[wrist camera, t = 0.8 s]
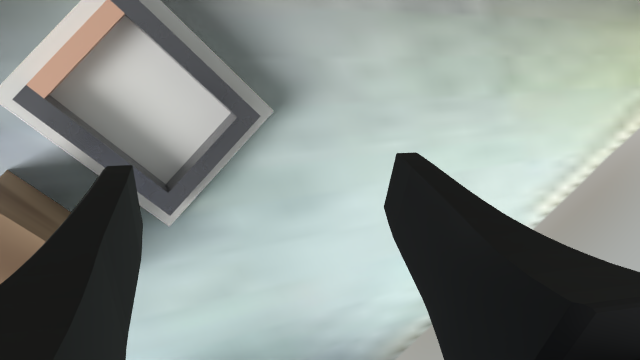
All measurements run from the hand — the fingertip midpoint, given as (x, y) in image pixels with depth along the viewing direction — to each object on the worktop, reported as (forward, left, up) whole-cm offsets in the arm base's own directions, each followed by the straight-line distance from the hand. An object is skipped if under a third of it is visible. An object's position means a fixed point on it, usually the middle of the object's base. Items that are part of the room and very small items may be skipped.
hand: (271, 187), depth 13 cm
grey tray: (-2, +2, -19) cm, 19 cm away
